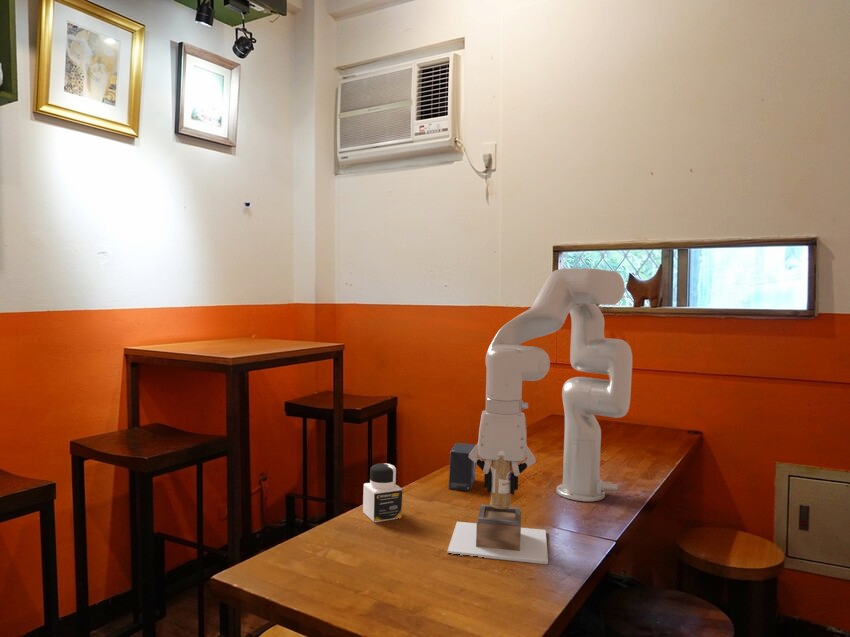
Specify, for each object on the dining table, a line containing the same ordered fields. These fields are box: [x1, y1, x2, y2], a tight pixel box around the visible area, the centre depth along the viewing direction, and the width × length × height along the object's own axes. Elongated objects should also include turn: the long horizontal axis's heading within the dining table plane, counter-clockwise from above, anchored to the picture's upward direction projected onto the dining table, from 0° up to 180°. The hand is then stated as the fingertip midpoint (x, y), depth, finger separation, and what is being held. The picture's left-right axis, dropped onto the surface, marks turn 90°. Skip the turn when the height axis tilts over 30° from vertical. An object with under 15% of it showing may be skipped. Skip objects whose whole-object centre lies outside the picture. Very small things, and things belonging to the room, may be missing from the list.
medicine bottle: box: [362, 462, 403, 523], centre depth 138 cm, size 7×7×12 cm
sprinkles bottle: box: [489, 451, 513, 509], centre depth 124 cm, size 5×5×14 cm
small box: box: [447, 442, 477, 492], centre depth 162 cm, size 11×6×10 cm, turn 168°
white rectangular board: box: [446, 521, 549, 565], centre depth 124 cm, size 20×16×1 cm
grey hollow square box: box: [476, 503, 522, 551], centre depth 124 cm, size 9×9×6 cm
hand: (500, 490), depth 124 cm, fingers closed on sprinkles bottle, 4 cm apart
